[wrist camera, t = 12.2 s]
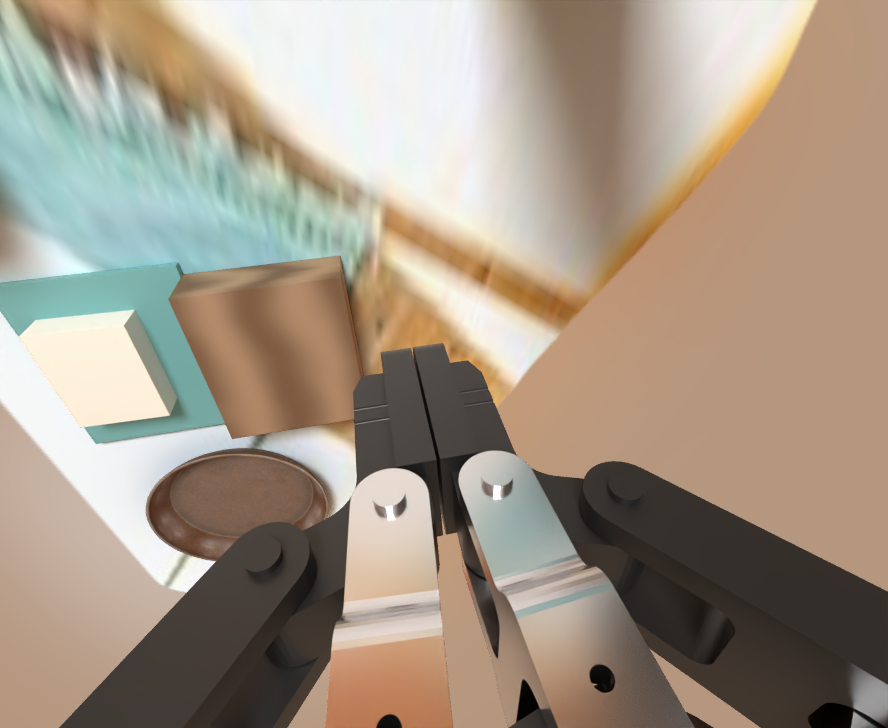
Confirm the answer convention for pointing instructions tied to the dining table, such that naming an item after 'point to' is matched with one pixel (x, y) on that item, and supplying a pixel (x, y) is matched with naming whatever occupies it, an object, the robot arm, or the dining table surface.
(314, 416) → the bronze rectangular block
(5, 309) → the mat
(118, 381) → the white block
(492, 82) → the dining table surface
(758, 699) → the robot arm
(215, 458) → the plant saucer
